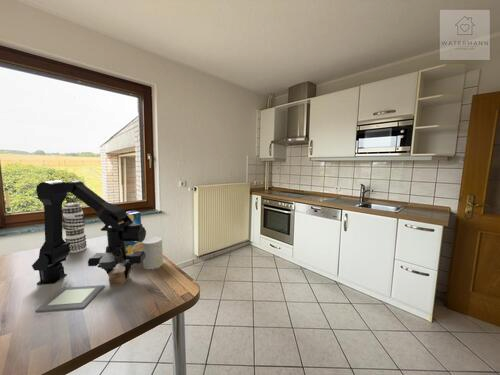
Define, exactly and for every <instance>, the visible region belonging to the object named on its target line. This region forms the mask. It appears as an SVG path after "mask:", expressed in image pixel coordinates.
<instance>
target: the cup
mask: <svg viewBox="0 0 500 375" xmlns="http://www.w3.org/2000/svg"><path fill="white" fill-rule="evenodd" d="M162 238H163V237H160V236H150V237H147V238H146V237H145V239H144V240H143V241H142V249H143V251H144V252H145V254H146V257H145V259H144V260H143V261H142V262H143V269H144V268H145V269H144V270H147V269H152V270H156V269H159V268H161V267H162V266H163V265H164V257H163V256H164V255H163V254H164V253H163V251H164V250H163V239H162ZM162 264H163V265H162ZM161 265H162V266H161ZM160 266H161V267H160ZM158 267H159V268H158ZM155 268H156V269H155Z"/></svg>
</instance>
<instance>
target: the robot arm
mask: <svg viewBox="0 0 500 375" xmlns="http://www.w3.org/2000/svg"><path fill="white" fill-rule="evenodd" d="M35 188H36V189H35V190H36V194H37V195H36V196H37V199H38V200H39V201H40V202H41V203H42V204H43V210H44V212H43V213H44V215H43V216H44V238H45V239H44V242H43V244H42V246H41V247H40V249H39V253H38V257H37V259H36V260H35V261H34V262H33V263H32V264H31V267H32V270H33V271H38V273H39V281H38V282H36V285H49V284H51V285H52V284H56V283H58V282H59V281H60V280H62V279H63V278H64V277H66V276H67V274H68V273H65V268H64V265H63V262H65V261H66V259H67V256H69V254H70V253H69V252H70V248H69V246H70V243H69V242H68V243H66V240H65V239H63V238H64V237H63V222H62V221H63V219H62V217H63V208H62V207H63V203H64V201H65V200H66V198H67V196H68V193H71V194H72V195H73V196H75V197H76V198H77V199H79V200H80V201H81V202H82V203H84V205H85V204H86V205H87V206H88V207H89V208H90V209H92V210H93V211H94V212H95V213H96V214H97V216H98V219H99V220H100V221H101V222H102V223H103V224H104V225H103V227H102V228H100V231H101V232H106V237H107V245H106V247H105V252H96V253H95V254H93V255H92V256H91V257H90V258H89V259H88V260H87V265H88V267H97V268H100V269H101V270H104V271H105V273H106V274H107V275H108V277H109V272H111V271H112V270H113V269H114V268H115V267H117V266H118V264H122V263H123V262H122V261H123V260H126V261H125V263H124V265H123V266H124V267H125V278H126V279H127V278H128V276H129V277H130V273H131V270H132V268H133V266H134V265H139V264H142V262H143V260H144V259H145V257H146V254H145V252H144V251H136V252H134V253H133V254H131V255H126V254H127V253H128V250H126V243H127V242H142V241H143V240H144V239H146V235H147V229H146V228H145V226H143V223H141V224H133V222H132V220H131V219H130V218H129V217H128V215H127V214H126V212H127V211H126V209H124V208H123V207H121V206H118V205H117V204H114V203H109V202H107V201H106V200H105V199H104V198H102V197H101V196H100V195H98V194H97V193H96V192H94V191H93V190H91V188H89V187H88V186H86V185H85V183H84V182H83V181H80V180H71V181H67V182H64V181H63V180H59V179H58V180H50V181H49V180H48V181H42V182H40V183H39V184H37V185H36V187H35ZM122 221H123V223H121V224H118V223H120V222H122ZM128 279H129V278H128Z"/></svg>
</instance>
